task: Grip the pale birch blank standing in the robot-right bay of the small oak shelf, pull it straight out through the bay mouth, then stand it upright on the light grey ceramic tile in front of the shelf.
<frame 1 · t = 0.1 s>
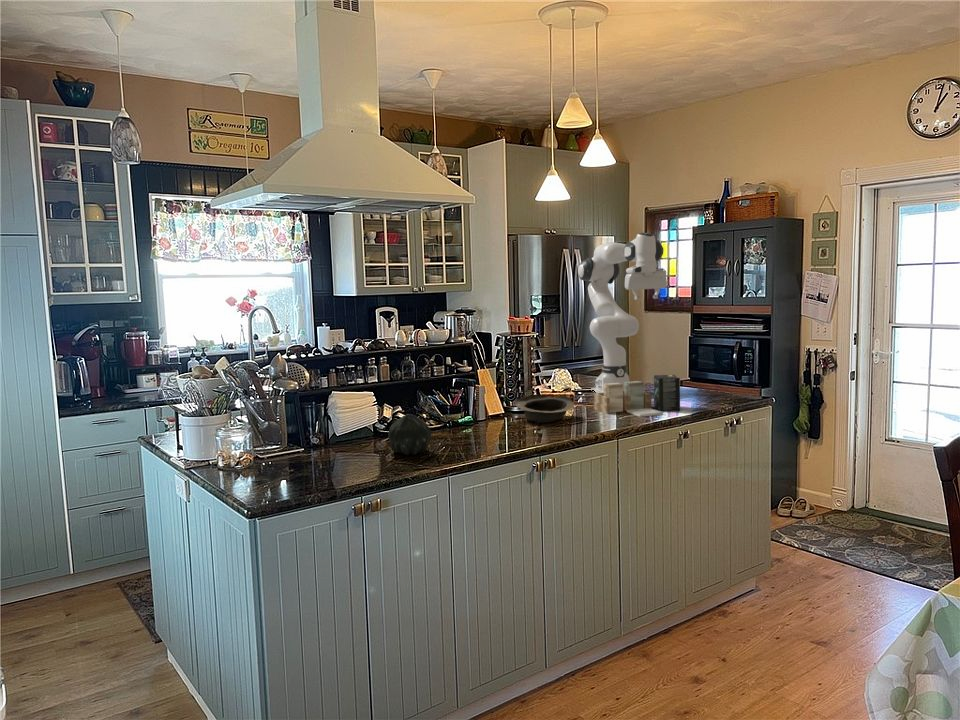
hand: (646, 299, 331), 48 cm above the counter, fingers open, 8 cm apart
shelf: (622, 409, 322), on the counter
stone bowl: (545, 420, 305), on the counter
blank: (613, 410, 319), on the counter
tampon box: (666, 409, 320), on the counter
squash: (410, 453, 255), on the counter
tile: (644, 413, 311), on the counter
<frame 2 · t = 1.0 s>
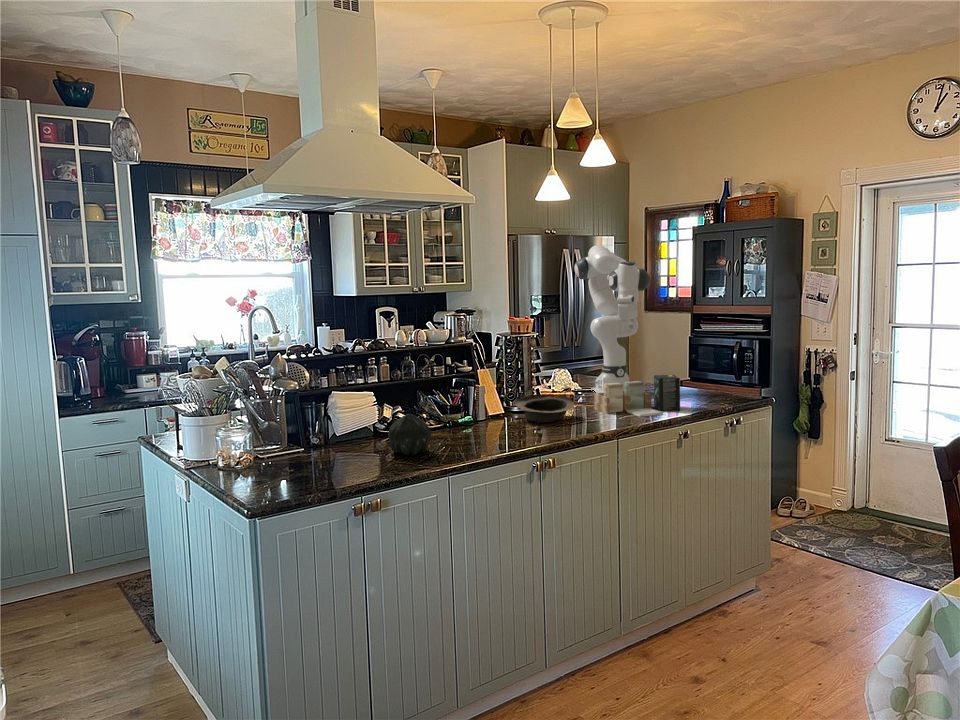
hand: (629, 329, 323), 35 cm above the counter, fingers open, 8 cm apart
nothing on the counter moved.
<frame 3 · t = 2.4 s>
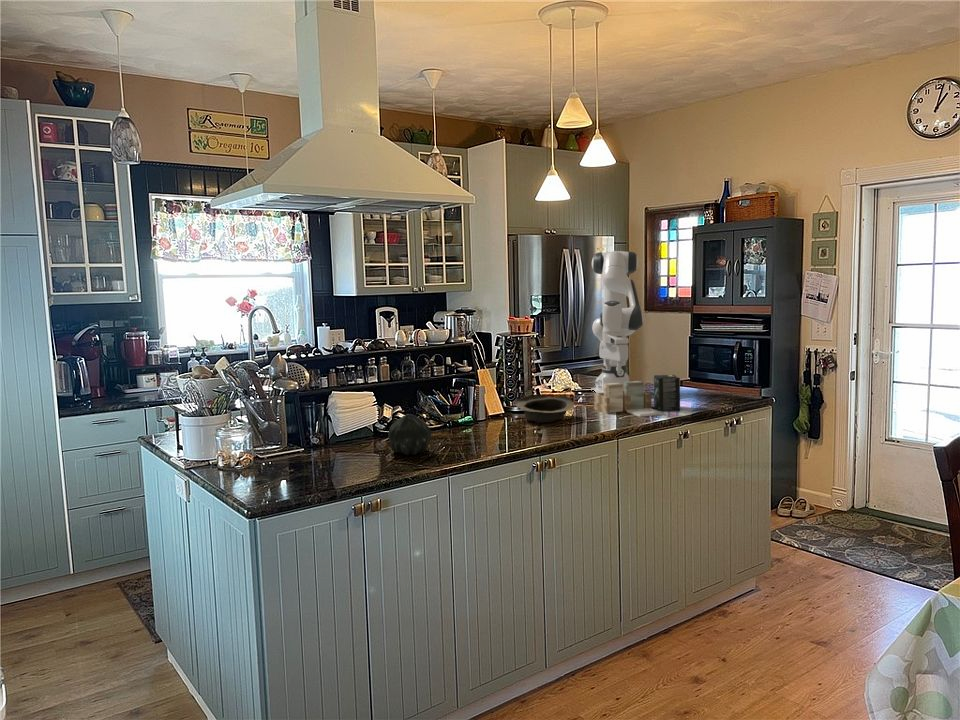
hand: (613, 370, 317), 18 cm above the counter, fingers open, 8 cm apart
nothing on the counter moved.
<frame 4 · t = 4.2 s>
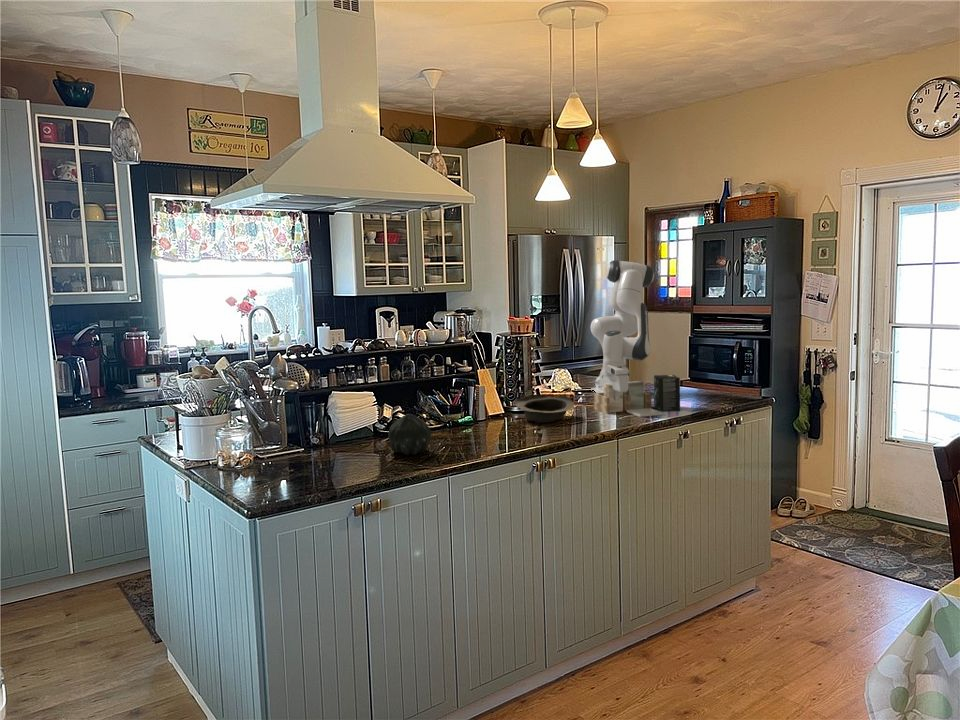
hand: (613, 399, 318), 5 cm above the counter, fingers closed on blank, 4 cm apart
blank: (613, 410, 319), on the counter, touching gripper
everything else where it was.
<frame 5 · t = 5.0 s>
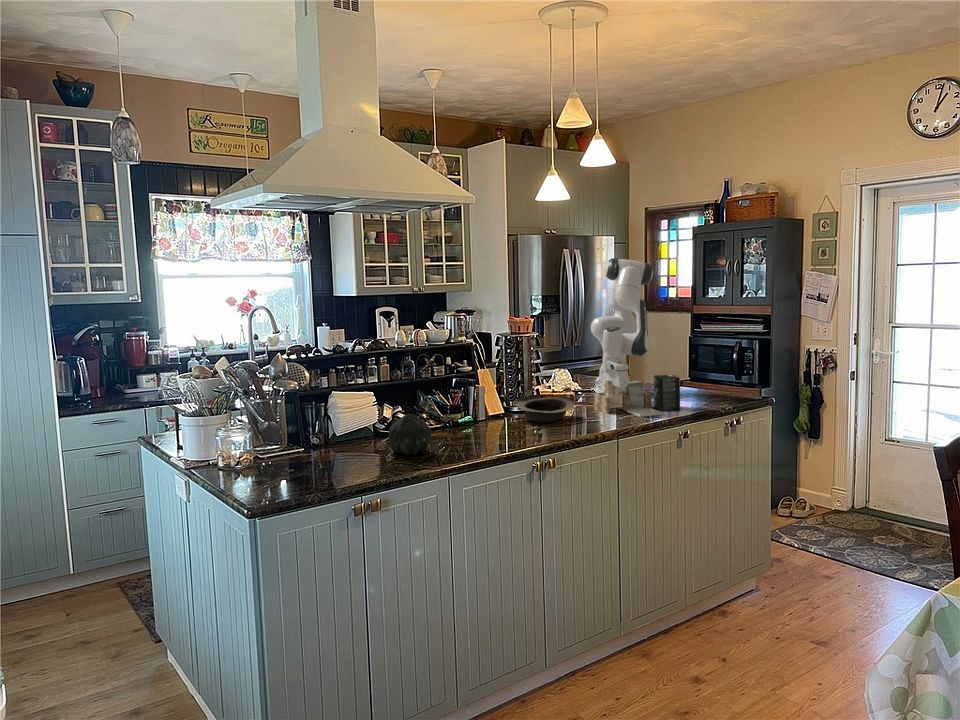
hand: (613, 395, 318), 7 cm above the counter, fingers closed on blank, 4 cm apart
blank: (613, 406, 319), point 2 cm above the counter, touching gripper
everything else where it was.
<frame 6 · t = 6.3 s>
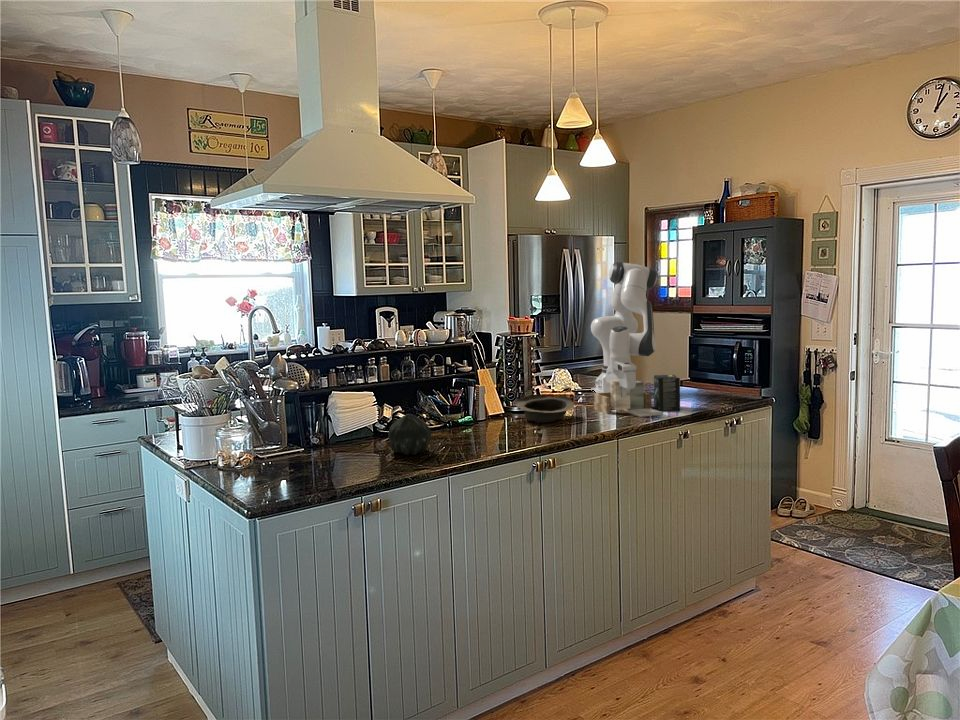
hand: (620, 396, 312), 7 cm above the counter, fingers closed on blank, 4 cm apart
blank: (620, 408, 313), point 2 cm above the counter, touching gripper
everything else where it was.
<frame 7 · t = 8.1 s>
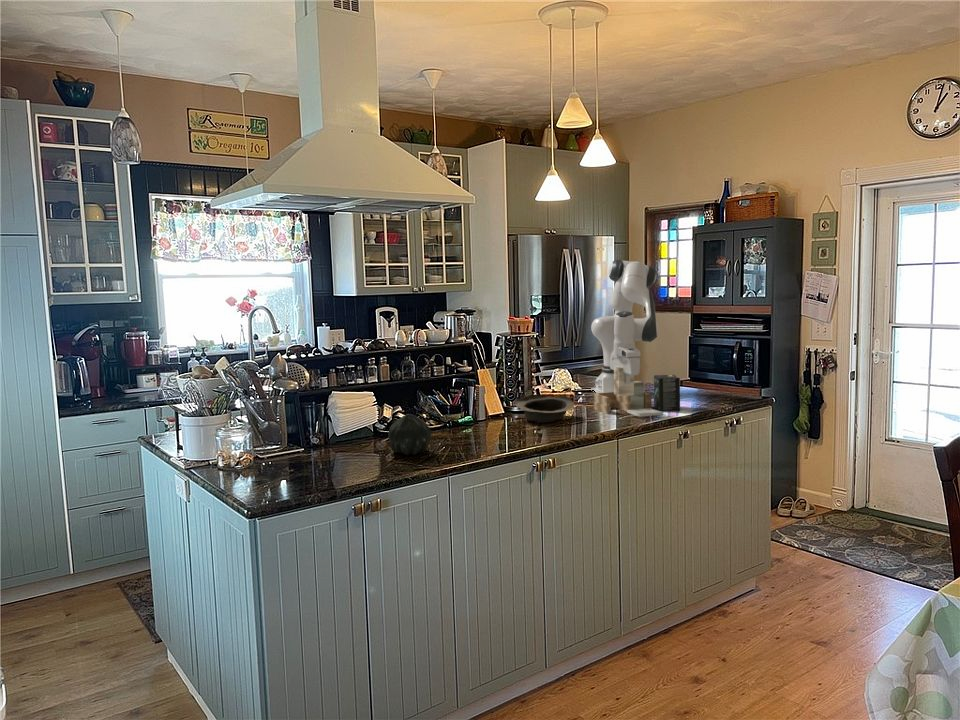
hand: (624, 382, 307), 14 cm above the counter, fingers closed on blank, 4 cm apart
blank: (623, 394, 308), point 9 cm above the counter, touching gripper
everything else where it was.
when the fingers open (8 cm above the counter, at t = 11.6 s): blank drops 1 cm, resting on tile.
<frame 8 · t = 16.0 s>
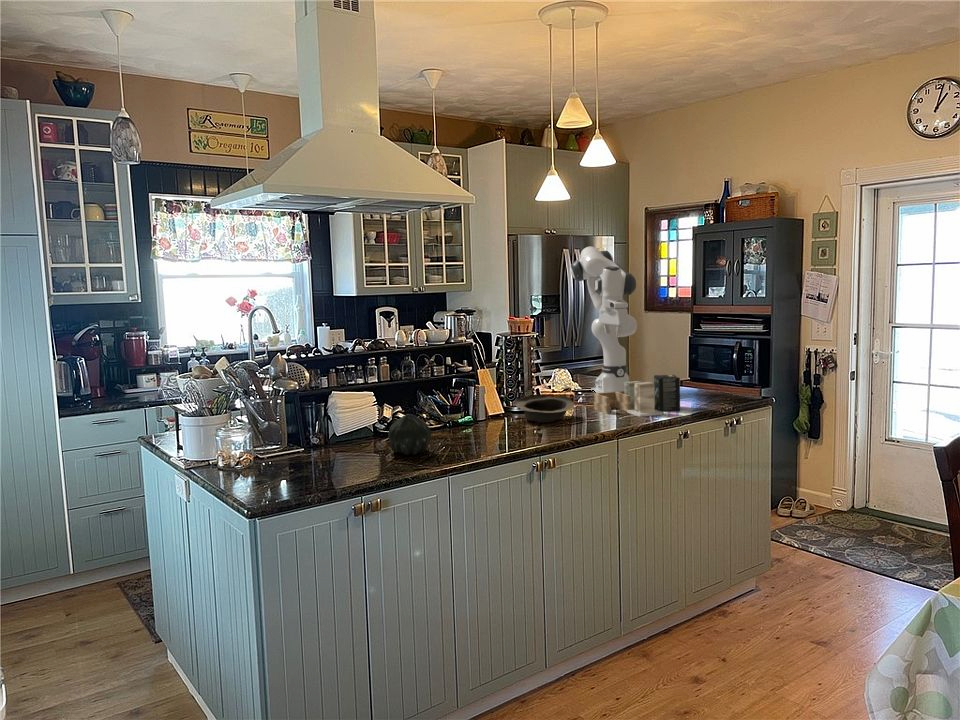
hand: (612, 334, 322), 33 cm above the counter, fingers open, 8 cm apart
blank: (644, 411, 311), point 1 cm above the counter, touching tile
everything else where it was.
at the end: blank inside the target area on the tile (0.1 cm from its centre), point 1.0 cm above the tile's base; blank tilted 0°; the gripper is holding nothing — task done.
